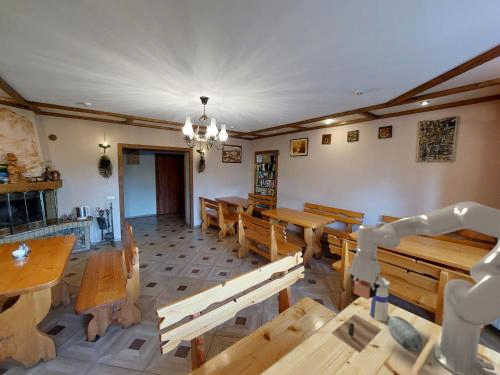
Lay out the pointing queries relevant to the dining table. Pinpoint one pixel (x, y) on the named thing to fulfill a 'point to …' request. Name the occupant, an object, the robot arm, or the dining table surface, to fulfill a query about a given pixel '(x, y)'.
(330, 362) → the dining table surface
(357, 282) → the orange hollow square block
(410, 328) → the grey streaked oval part
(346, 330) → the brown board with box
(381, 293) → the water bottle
